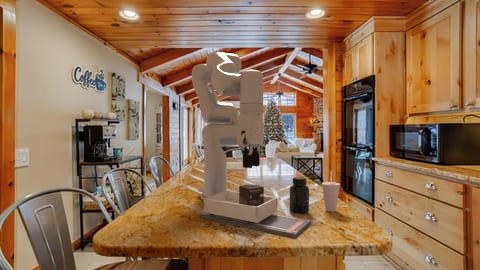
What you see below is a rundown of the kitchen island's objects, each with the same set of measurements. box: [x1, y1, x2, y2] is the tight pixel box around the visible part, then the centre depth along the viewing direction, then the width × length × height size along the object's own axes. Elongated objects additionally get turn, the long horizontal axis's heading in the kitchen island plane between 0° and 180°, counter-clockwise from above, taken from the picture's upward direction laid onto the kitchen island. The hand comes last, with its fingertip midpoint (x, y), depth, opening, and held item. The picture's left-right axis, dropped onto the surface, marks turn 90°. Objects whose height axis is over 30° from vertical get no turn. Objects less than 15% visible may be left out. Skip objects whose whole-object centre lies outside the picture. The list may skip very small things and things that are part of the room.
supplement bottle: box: [289, 176, 310, 215], centre depth 100 cm, size 7×7×12 cm
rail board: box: [199, 212, 312, 239], centre depth 90 cm, size 33×14×1 cm, turn 58°
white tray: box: [203, 190, 278, 223], centre depth 93 cm, size 20×14×5 cm
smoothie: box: [321, 171, 341, 212], centre depth 102 cm, size 6×6×14 cm
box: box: [238, 183, 265, 207], centre depth 91 cm, size 6×6×7 cm
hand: (251, 166), depth 90 cm, fingers open, 4 cm apart
